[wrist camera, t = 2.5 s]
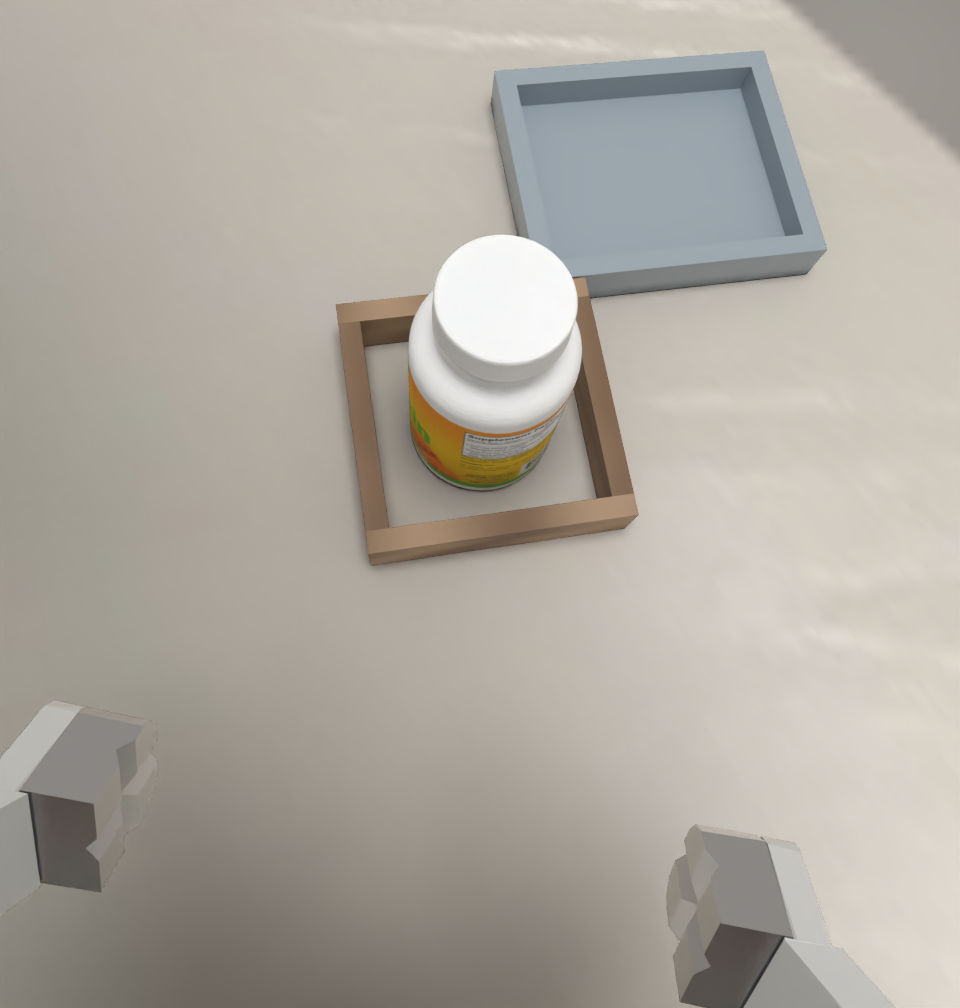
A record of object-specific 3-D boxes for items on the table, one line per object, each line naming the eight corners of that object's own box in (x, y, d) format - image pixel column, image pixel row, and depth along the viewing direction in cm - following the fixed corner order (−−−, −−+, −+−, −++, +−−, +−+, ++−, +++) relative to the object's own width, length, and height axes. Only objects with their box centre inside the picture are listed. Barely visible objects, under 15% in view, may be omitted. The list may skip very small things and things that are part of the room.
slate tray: (531, 304, 32) (538, 280, 31) (490, 103, 35) (494, 71, 33) (806, 274, 34) (827, 249, 32) (747, 82, 36) (764, 50, 34)
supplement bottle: (403, 370, 31) (396, 216, 22) (537, 358, 32) (586, 204, 22) (417, 500, 30) (416, 396, 20) (557, 486, 30) (619, 379, 21)
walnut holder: (371, 565, 29) (368, 554, 27) (340, 330, 31) (335, 304, 29) (624, 528, 30) (638, 514, 28) (575, 304, 32) (585, 277, 30)
